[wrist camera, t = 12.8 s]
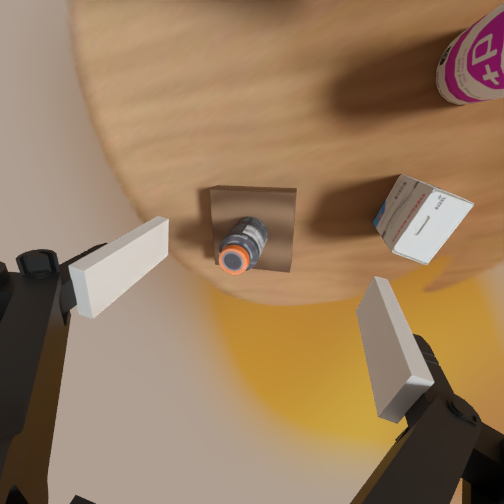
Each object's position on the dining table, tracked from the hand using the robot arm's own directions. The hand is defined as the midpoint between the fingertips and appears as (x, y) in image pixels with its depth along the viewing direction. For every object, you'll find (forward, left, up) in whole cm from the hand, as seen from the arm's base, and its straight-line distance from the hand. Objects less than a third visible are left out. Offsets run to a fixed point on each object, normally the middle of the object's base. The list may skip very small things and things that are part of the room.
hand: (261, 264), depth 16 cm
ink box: (0, +17, -29) cm, 34 cm away
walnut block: (+9, -5, -29) cm, 31 cm away
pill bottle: (+9, -5, -25) cm, 27 cm away
